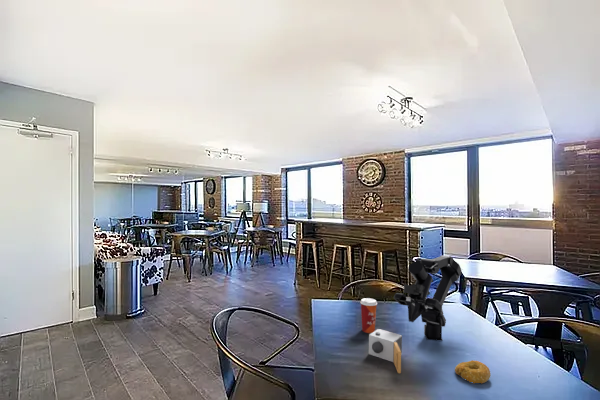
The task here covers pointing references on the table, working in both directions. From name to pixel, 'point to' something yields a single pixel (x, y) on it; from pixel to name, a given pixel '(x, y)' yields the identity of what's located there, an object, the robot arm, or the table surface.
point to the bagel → (473, 371)
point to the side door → (397, 357)
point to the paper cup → (368, 314)
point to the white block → (384, 344)
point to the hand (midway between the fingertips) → (410, 321)
